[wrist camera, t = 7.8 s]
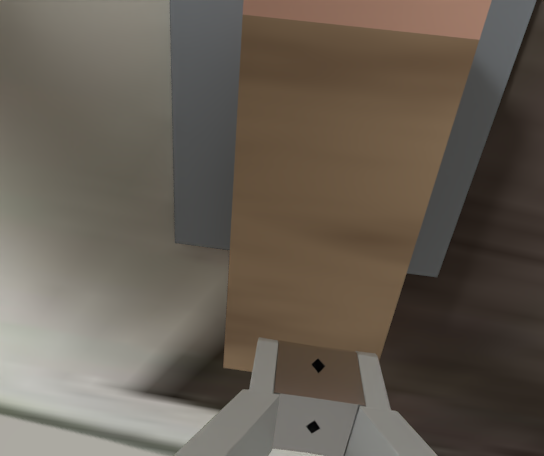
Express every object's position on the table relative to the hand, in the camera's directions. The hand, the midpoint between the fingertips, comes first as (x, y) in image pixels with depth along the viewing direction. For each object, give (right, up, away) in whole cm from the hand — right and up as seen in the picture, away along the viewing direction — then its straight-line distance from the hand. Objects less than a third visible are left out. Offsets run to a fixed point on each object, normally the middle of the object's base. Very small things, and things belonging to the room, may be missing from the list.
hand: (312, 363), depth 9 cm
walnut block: (0, -1, +8) cm, 8 cm away
